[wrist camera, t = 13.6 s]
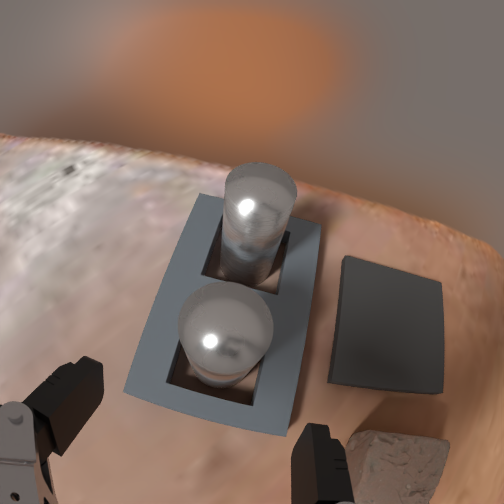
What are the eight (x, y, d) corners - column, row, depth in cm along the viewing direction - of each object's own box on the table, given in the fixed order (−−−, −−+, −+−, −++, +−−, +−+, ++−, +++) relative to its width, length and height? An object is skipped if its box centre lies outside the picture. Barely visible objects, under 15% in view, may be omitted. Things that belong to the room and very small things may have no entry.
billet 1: (274, 247, 29) (299, 171, 20) (266, 291, 26) (293, 222, 18) (226, 237, 29) (234, 156, 20) (214, 279, 26) (216, 205, 18)
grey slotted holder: (315, 236, 30) (321, 224, 28) (279, 435, 20) (285, 436, 18) (199, 206, 30) (199, 193, 28) (130, 394, 20) (122, 391, 18)
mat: (436, 286, 29) (441, 282, 28) (436, 394, 22) (442, 392, 22) (341, 260, 29) (345, 255, 28) (327, 382, 23) (331, 381, 22)
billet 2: (254, 340, 24) (281, 294, 15) (241, 394, 21) (262, 383, 13) (200, 326, 24) (193, 271, 15) (184, 379, 21) (165, 356, 13)
